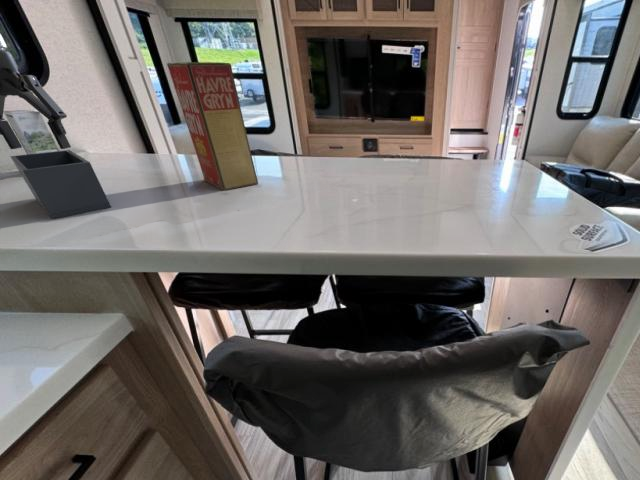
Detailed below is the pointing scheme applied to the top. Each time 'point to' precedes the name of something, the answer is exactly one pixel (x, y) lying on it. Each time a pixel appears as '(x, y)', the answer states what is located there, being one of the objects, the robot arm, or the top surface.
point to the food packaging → (215, 122)
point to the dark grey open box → (62, 182)
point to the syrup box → (32, 131)
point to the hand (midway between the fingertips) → (41, 148)
